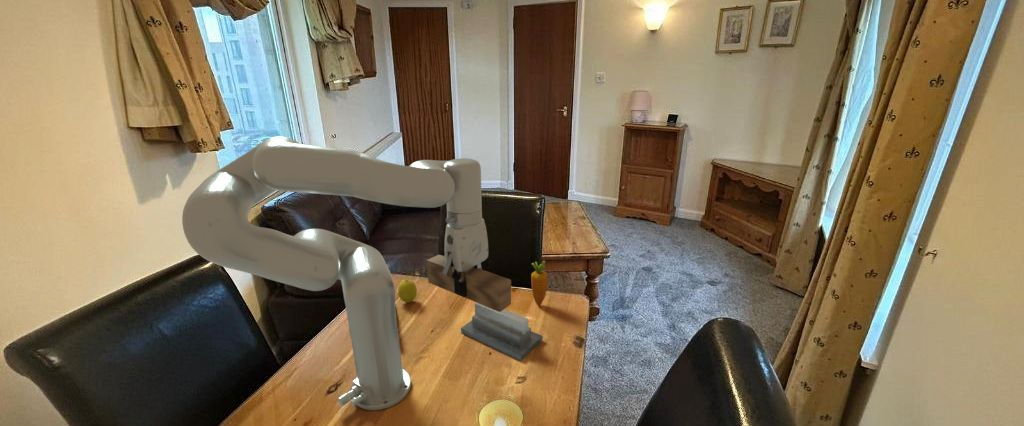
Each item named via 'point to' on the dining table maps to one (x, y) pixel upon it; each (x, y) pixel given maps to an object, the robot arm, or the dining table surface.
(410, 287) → the lemon
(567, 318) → the dining table surface
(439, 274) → the walnut beam
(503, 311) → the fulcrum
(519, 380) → the dining table surface
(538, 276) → the carrot
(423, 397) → the dining table surface
